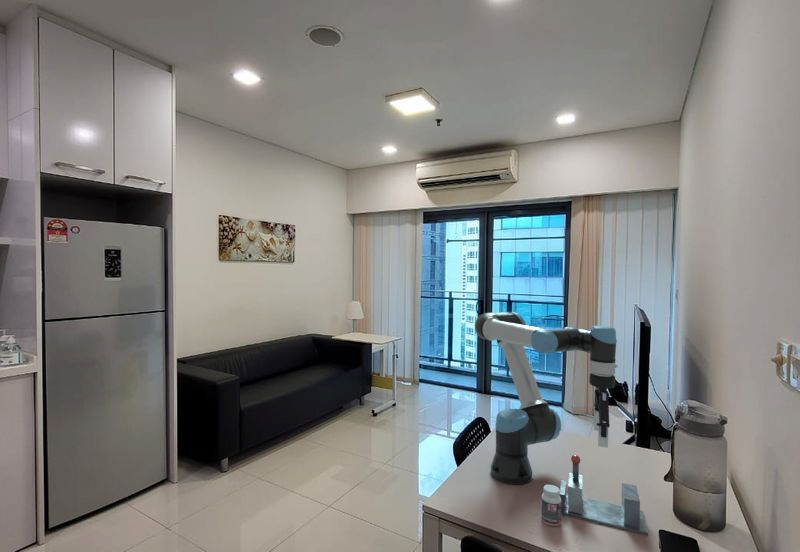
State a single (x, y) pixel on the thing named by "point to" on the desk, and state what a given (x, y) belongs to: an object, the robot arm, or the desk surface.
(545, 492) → the pill bottle
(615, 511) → the vise body
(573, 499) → the free jaw
